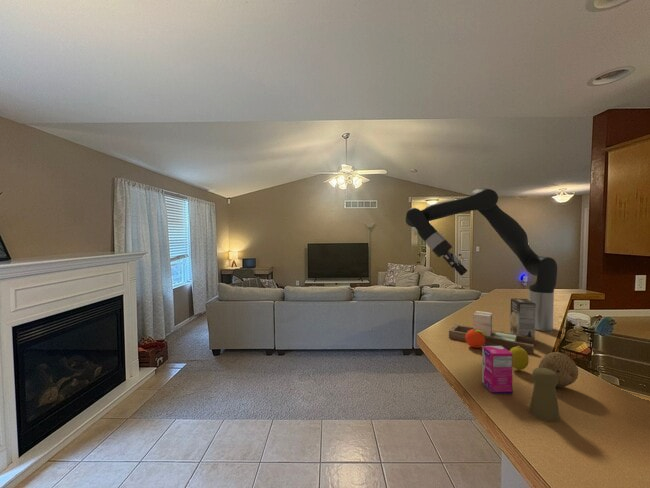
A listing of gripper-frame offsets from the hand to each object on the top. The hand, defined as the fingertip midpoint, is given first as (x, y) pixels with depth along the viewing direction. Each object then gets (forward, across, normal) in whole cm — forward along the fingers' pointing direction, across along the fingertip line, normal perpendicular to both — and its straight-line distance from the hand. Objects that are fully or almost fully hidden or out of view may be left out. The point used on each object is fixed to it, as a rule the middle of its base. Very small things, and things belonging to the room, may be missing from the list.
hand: (464, 273), depth 129 cm
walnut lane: (+27, -1, +10) cm, 29 cm away
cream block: (+23, 0, +11) cm, 25 cm away
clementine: (+24, -11, +14) cm, 30 cm away
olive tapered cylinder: (+37, -51, +2) cm, 63 cm away
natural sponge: (+40, -33, -2) cm, 52 cm away
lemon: (+33, -26, +5) cm, 43 cm away
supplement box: (+30, -43, +9) cm, 53 cm away
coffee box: (+34, +10, +2) cm, 36 cm away
